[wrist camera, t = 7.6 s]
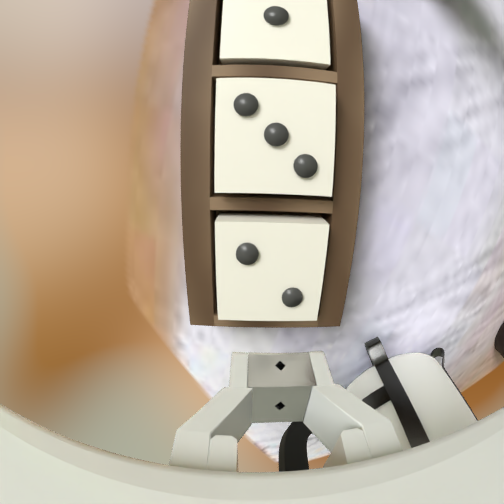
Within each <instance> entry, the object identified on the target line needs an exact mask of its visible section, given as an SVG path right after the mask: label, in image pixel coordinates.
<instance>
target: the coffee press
mask: <svg viewBox="0 0 504 504" xmlns="http://www.w3.org/2000/svg"><path fill="white" fill-rule="evenodd" d="M365 347H366V349H367V352H368V354H369V357H370V359H371V362H372V364H373V367H371V368H369V369H368V370H366V371H365V372H363V373H362V374H361V375H360V376H358V377H357V378H356V379H355V380H354V381H353V382H352V383H351V384H350V385H349V386H348V387H347V388H346V390H348V391H349V392H350V393H352V394H353V395H355V396H356V397H357V398H359V399H360V400H362V401H363V402H364V403H366V404H367V405H369V406H370V407H372V408H373V409H374V410H376V411H377V412H379V413H380V414H382V415H383V416H385V417H386V418H388V419H389V420H391V423H392V425H393V427H394V430H395V432H396V435H397V437H398V440H399V442H400V444H401V447H402V449H403V451H404V450H407V449H410V448H413V447H416V446H419V445H422V444H425V443H428V442H431V441H433V440H436V439H439V438H441V437H444V436H446V435H448V434H451V433H453V432H455V431H458V430H460V429H462V428H464V427H467V426H469V425H471V424H473V423H475V422H477V421H478V420H477V418H476V417H475V415H474V413H473V412H472V410H471V409H470V407H469V405H468V404H467V402H466V400H465V399H464V397H463V396H462V394H461V393H460V391H459V390H458V388H457V387H456V385H455V384H454V382H453V381H452V379H451V378H450V376H449V375H448V373H447V371H446V370H445V368H444V350H443V349H442V348H436V349H434V350H433V351H432V353H431V356H429V355H427V354H423V353H406V354H401V355H398V356H394V357H391V358H389V359H388V357H387V355H386V353H385V351H384V348H383V346H382V344H381V342H380V340H379V338H378V337H376V338H374V339H372V340H370V341H368V342H366V343H365ZM437 356H441V357H443V359H442V367H441V366H440V364H439V363H438V362H437V361H436V360H435V359H434V358H435V357H437ZM310 434H312V432H311V430H310V429H309V428H308V427H307V426H306V425H305V424H304V423H303V421H297V422H292V423H291V425H290V426H289V427H288V428H287V430H286V431H285V433H284V434H283V436H282V439H281V442H280V447H279V472H284V471H298V470H309V466H308V458H307V440H308V437H309V435H310Z"/></svg>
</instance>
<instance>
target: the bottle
mask: <svg viewBox="0 0 504 504" xmlns="http://www.w3.org/2000/svg"><path fill="white" fill-rule="evenodd" d="M495 347H496V350H497V351H498V352H499V353H500V354H501V355H502V356H503V357H504V323H503V324H502V326H501V328H500V330H499V331H498V334H497V336H496V341H495Z"/></svg>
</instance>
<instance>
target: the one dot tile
mask: <svg viewBox="0 0 504 504" xmlns="http://www.w3.org/2000/svg"><path fill="white" fill-rule="evenodd" d="M220 60H221V63H222V65H276V66H291V67H302V68H311V69H319V70H326V69H327V68H328V67H329V66H330V40H329V23H328V9H327V0H223V12H222V27H221V43H220Z"/></svg>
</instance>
